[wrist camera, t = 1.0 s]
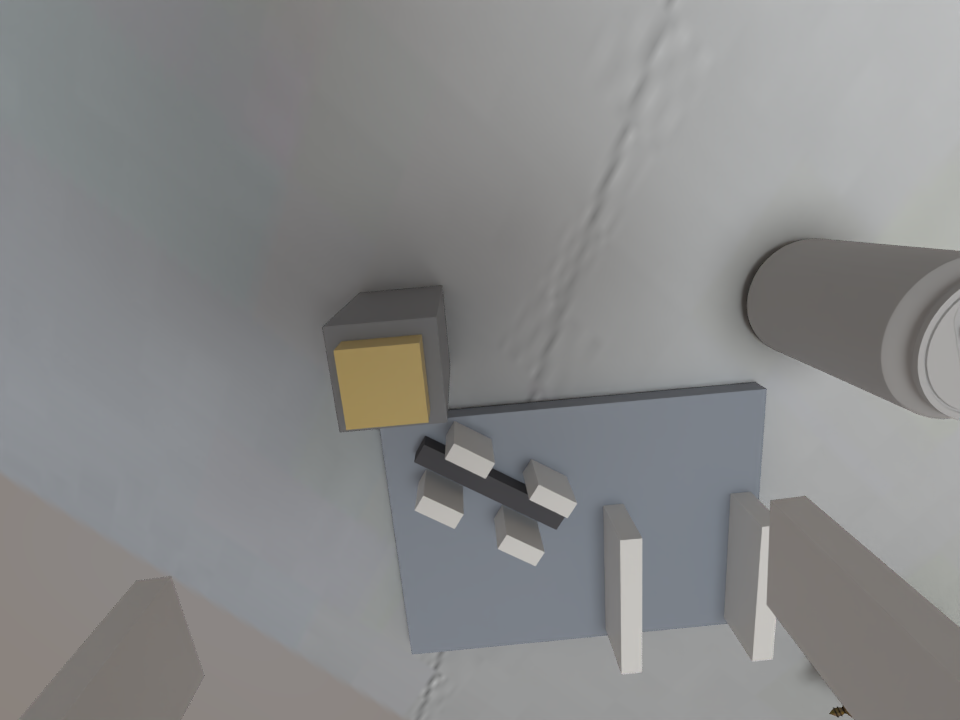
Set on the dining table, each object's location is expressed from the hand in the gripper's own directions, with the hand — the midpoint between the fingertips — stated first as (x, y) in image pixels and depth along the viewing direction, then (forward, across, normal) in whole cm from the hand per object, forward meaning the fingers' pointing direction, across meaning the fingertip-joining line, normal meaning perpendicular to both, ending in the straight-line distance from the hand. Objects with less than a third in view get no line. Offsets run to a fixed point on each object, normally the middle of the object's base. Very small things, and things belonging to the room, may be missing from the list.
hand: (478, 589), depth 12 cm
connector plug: (+20, -3, +2) cm, 20 cm away
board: (+19, +5, -12) cm, 23 cm away
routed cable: (+18, +1, -7) cm, 20 cm away
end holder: (+18, +11, -15) cm, 26 cm away
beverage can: (+20, +19, +1) cm, 27 cm away
